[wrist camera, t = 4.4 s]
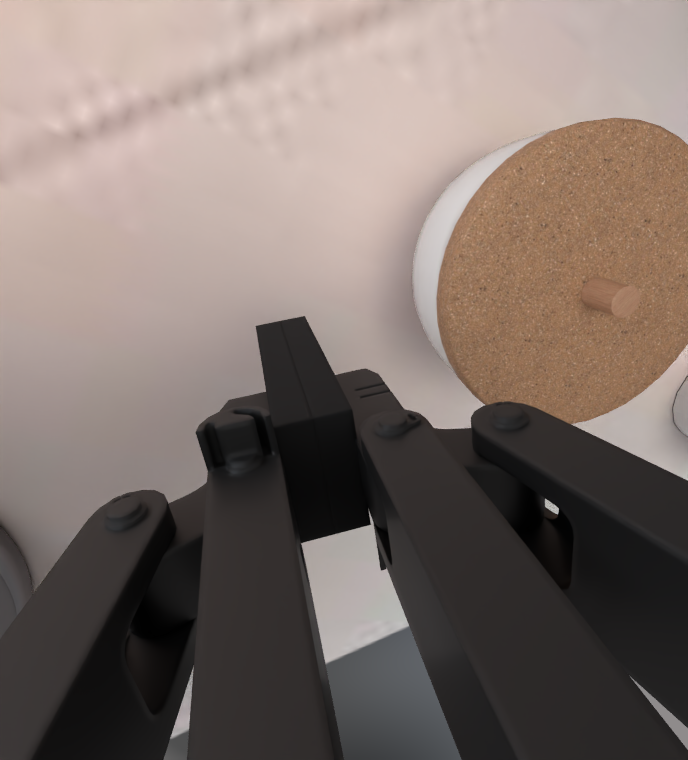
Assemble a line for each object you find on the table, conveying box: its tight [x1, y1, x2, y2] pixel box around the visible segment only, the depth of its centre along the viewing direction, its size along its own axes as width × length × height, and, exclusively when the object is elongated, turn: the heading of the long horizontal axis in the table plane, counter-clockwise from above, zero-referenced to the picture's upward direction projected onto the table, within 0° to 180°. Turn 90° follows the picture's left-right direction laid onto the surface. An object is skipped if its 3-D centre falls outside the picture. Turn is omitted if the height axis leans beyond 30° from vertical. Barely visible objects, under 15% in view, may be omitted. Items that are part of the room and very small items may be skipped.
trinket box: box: [412, 118, 688, 424], centre depth 20 cm, size 11×11×9 cm
